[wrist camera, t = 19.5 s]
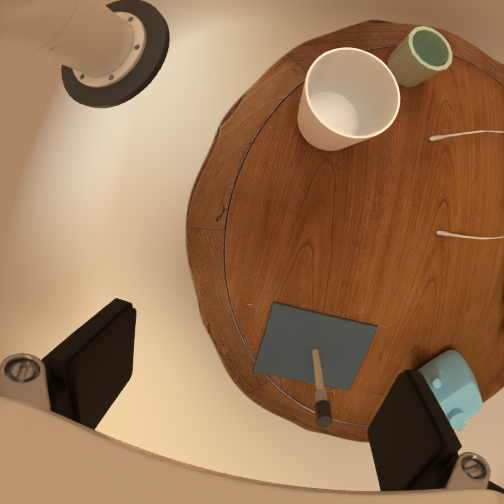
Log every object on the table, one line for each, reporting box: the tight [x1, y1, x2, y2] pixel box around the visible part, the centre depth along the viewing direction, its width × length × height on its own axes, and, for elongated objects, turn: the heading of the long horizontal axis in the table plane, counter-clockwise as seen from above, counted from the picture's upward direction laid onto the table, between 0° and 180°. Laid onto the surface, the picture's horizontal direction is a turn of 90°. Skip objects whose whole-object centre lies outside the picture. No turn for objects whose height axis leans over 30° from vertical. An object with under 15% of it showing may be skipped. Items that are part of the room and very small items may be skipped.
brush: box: [312, 349, 332, 427], centre depth 38 cm, size 2×2×15 cm
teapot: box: [417, 350, 483, 431], centre depth 40 cm, size 12×18×12 cm
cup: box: [297, 48, 400, 151], centre depth 31 cm, size 8×8×16 cm
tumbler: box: [387, 26, 452, 87], centre depth 31 cm, size 6×6×9 cm
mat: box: [253, 302, 378, 390], centre depth 46 cm, size 16×12×1 cm
